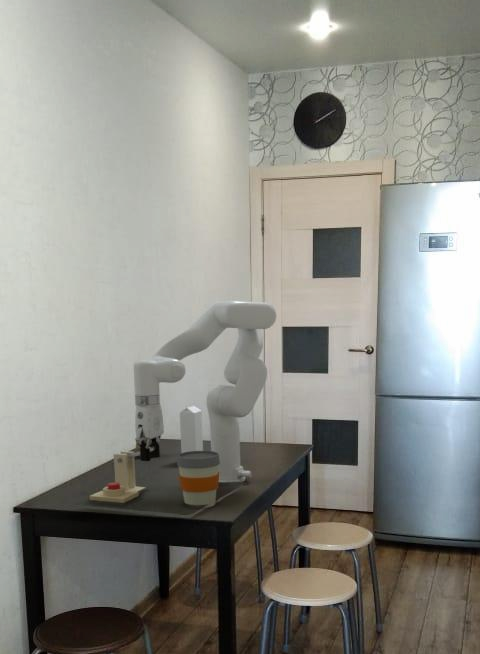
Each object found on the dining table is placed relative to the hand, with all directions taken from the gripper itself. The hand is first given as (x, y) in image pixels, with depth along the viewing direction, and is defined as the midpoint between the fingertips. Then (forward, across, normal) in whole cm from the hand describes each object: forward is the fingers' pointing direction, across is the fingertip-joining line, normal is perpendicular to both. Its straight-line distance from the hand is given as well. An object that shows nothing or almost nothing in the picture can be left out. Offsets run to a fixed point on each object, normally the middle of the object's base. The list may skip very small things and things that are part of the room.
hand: (150, 458), depth 263 cm
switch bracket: (+12, 0, +9) cm, 15 cm away
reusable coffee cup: (+12, -6, -20) cm, 24 cm away
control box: (+12, -10, +7) cm, 17 cm away
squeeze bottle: (+12, +52, +31) cm, 62 cm away
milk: (+12, +47, +9) cm, 49 cm away
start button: (+8, -10, +7) cm, 15 cm away
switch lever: (0, 0, +5) cm, 5 cm away
